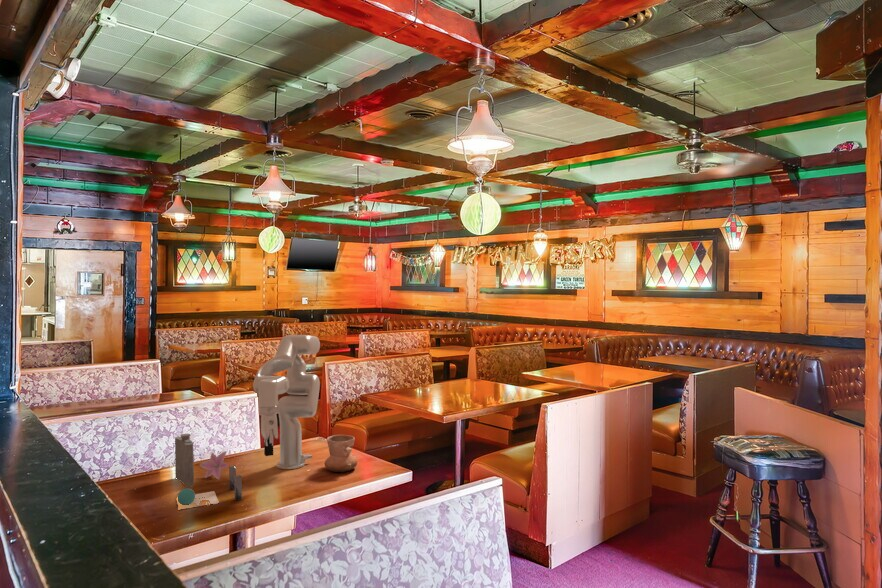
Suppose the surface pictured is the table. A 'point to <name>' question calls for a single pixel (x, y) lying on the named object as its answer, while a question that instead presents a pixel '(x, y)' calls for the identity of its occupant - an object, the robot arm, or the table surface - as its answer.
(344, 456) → the ceramic jug
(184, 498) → the ball
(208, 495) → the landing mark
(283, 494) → the table surface
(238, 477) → the post
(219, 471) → the lily
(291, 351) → the robot arm
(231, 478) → the post
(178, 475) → the hip flask
